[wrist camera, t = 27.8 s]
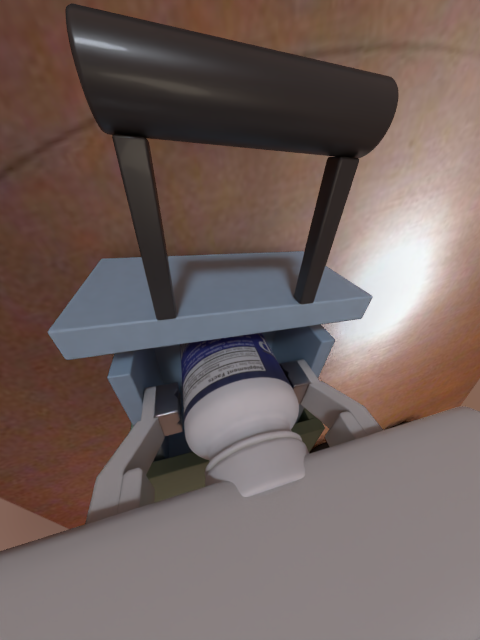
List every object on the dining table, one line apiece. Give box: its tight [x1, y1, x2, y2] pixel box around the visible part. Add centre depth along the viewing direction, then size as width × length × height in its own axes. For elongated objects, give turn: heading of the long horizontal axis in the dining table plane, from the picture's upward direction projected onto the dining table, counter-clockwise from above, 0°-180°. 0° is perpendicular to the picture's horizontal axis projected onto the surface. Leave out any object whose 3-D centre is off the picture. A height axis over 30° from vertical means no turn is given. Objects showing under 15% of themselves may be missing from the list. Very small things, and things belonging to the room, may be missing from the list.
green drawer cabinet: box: [131, 408, 325, 503], centre depth 19 cm, size 14×13×8 cm
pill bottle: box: [180, 333, 309, 497], centre depth 10 cm, size 5×5×9 cm
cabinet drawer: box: [48, 4, 398, 462], centre depth 11 cm, size 18×11×6 cm, turn 177°
